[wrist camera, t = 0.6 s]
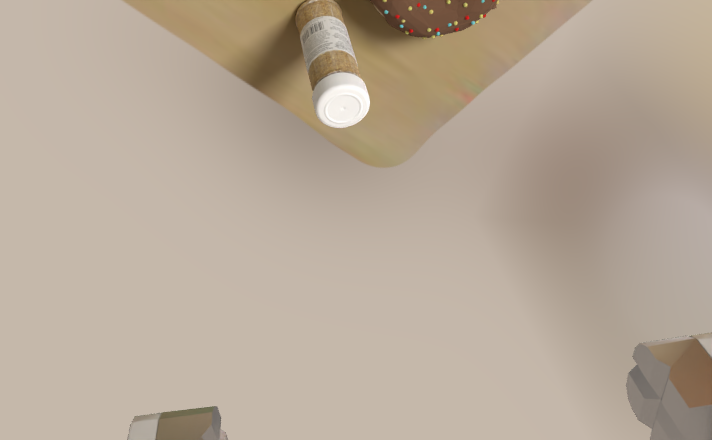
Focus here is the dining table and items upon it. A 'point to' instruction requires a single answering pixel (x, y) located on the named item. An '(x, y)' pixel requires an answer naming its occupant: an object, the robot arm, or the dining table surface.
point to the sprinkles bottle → (331, 64)
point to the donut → (433, 15)
